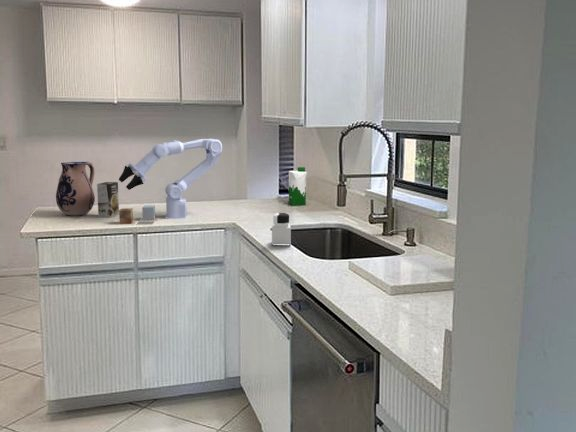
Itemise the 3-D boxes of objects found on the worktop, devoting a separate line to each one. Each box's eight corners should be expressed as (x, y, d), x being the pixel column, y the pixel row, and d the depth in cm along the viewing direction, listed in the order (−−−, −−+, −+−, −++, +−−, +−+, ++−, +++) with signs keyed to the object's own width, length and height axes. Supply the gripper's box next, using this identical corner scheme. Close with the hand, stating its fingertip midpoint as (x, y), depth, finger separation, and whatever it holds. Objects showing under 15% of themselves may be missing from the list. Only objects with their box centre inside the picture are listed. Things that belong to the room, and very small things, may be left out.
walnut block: (133, 221, 268) (132, 208, 266) (131, 223, 263) (130, 210, 262) (121, 221, 267) (121, 208, 266) (119, 223, 262) (119, 210, 261)
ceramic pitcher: (49, 216, 280) (45, 163, 275) (77, 209, 299) (74, 159, 295) (80, 218, 274) (77, 165, 270) (107, 211, 294) (104, 161, 290)
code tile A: (137, 221, 269) (137, 220, 269) (134, 225, 261) (134, 224, 261) (119, 221, 268) (119, 220, 268) (115, 225, 261) (115, 224, 261)
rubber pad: (154, 221, 268) (154, 221, 268) (152, 225, 262) (152, 224, 262) (138, 222, 268) (138, 221, 268) (136, 225, 261) (136, 224, 261)
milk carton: (307, 205, 315) (308, 168, 311) (291, 206, 312) (291, 168, 308) (302, 203, 323) (302, 166, 319) (286, 203, 320) (286, 166, 317)
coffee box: (110, 218, 276) (109, 184, 272) (98, 218, 277) (96, 183, 274) (120, 215, 284) (118, 181, 281) (107, 214, 286) (106, 181, 283)
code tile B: (159, 218, 277) (159, 217, 277) (156, 221, 270) (156, 220, 269) (141, 218, 277) (141, 217, 277) (139, 221, 269) (139, 220, 269)
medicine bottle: (290, 241, 232) (290, 211, 229) (290, 246, 225) (291, 215, 222) (271, 241, 231) (271, 211, 229) (271, 246, 224) (272, 215, 222)
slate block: (155, 218, 276) (154, 205, 275) (154, 220, 271) (153, 207, 270) (144, 218, 275) (144, 205, 274) (142, 220, 270) (142, 207, 269)
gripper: (133, 152, 272) (111, 172, 270) (148, 165, 263) (125, 187, 261) (141, 161, 277) (120, 181, 275) (156, 175, 268) (134, 195, 266)
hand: (123, 184), depth 268 cm, fingers open, 7 cm apart
